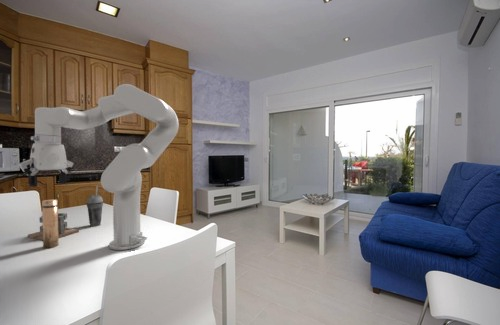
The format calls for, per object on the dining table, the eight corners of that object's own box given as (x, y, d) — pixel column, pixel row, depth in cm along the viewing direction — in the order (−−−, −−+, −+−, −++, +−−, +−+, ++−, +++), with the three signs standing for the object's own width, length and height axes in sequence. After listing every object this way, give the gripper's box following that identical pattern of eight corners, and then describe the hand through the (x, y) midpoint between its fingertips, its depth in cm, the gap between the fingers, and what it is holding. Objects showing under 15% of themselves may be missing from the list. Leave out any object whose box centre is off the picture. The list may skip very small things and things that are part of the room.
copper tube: (61, 244, 90) (60, 199, 90) (47, 249, 86) (46, 202, 85) (54, 243, 92) (53, 199, 91) (40, 247, 88) (39, 201, 87)
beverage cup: (83, 226, 114) (82, 186, 114) (98, 222, 121) (98, 184, 120) (91, 228, 111) (90, 187, 110) (106, 224, 117) (106, 185, 117)
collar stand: (78, 232, 105) (78, 213, 105) (48, 241, 94) (48, 220, 94) (58, 228, 110) (58, 211, 110) (27, 236, 99) (27, 217, 99)
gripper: (25, 138, 78) (26, 188, 79) (78, 142, 95) (78, 183, 95) (13, 138, 81) (13, 186, 81) (66, 142, 97) (66, 182, 98)
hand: (48, 184), depth 88 cm, fingers open, 9 cm apart
